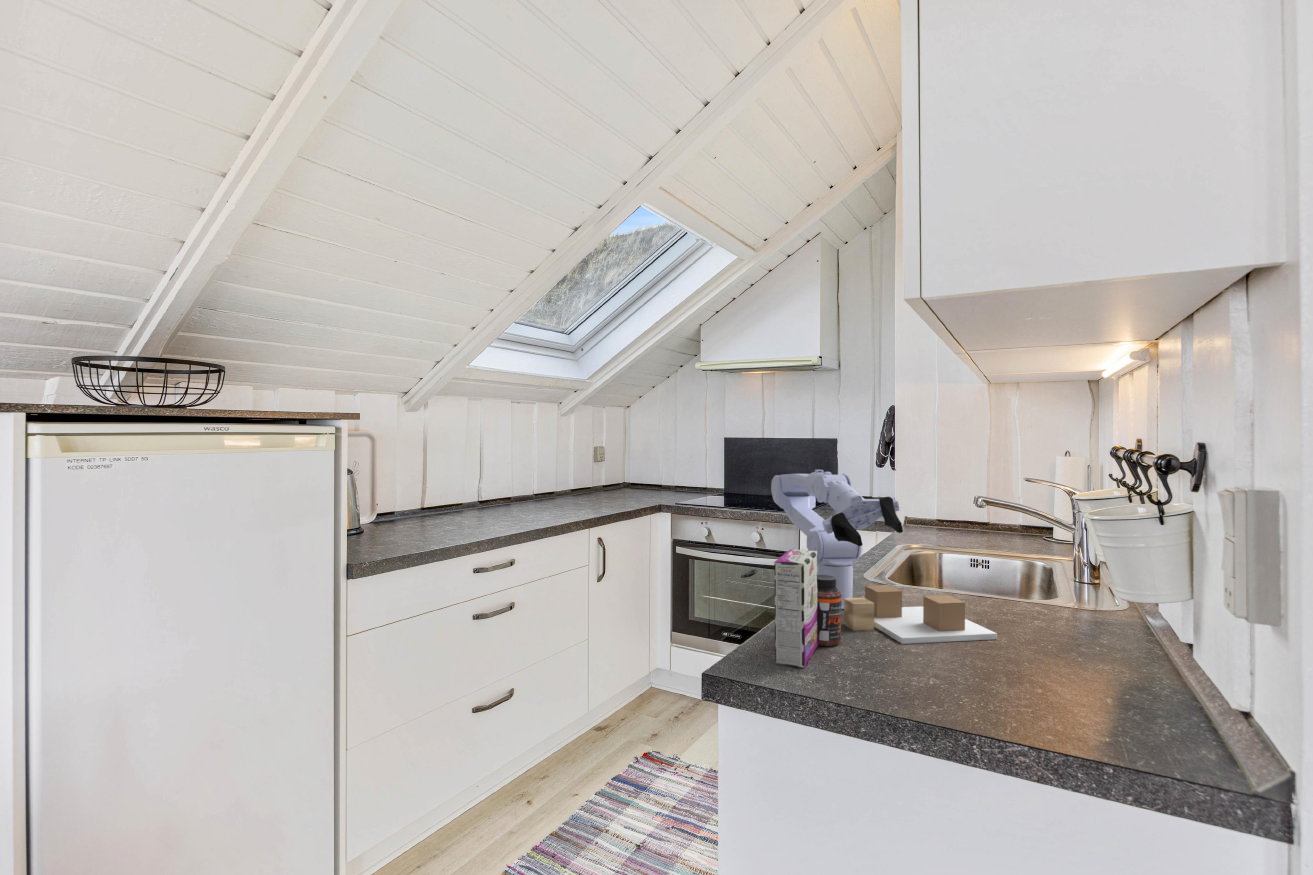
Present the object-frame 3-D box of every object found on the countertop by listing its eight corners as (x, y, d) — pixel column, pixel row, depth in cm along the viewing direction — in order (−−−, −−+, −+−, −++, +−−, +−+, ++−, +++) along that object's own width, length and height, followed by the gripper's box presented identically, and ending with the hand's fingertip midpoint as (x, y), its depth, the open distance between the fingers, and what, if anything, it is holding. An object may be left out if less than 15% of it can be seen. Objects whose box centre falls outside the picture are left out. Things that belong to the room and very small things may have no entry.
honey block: (843, 624, 121) (844, 598, 121) (863, 623, 121) (863, 597, 121) (853, 631, 117) (853, 603, 117) (874, 630, 117) (874, 603, 117)
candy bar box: (789, 642, 110) (789, 548, 110) (818, 647, 108) (819, 550, 108) (772, 664, 100) (773, 559, 100) (804, 669, 98) (805, 562, 97)
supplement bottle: (833, 649, 106) (833, 582, 106) (799, 642, 110) (800, 577, 110) (846, 640, 111) (846, 576, 111) (814, 634, 115) (814, 571, 115)
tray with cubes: (854, 614, 127) (854, 584, 127) (937, 610, 130) (937, 581, 130) (902, 643, 110) (902, 608, 109) (997, 639, 112) (997, 605, 112)
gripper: (810, 498, 125) (837, 527, 113) (880, 475, 126) (914, 502, 113) (818, 529, 128) (845, 561, 115) (886, 506, 128) (920, 536, 115)
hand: (880, 534), depth 114 cm, fingers open, 7 cm apart
